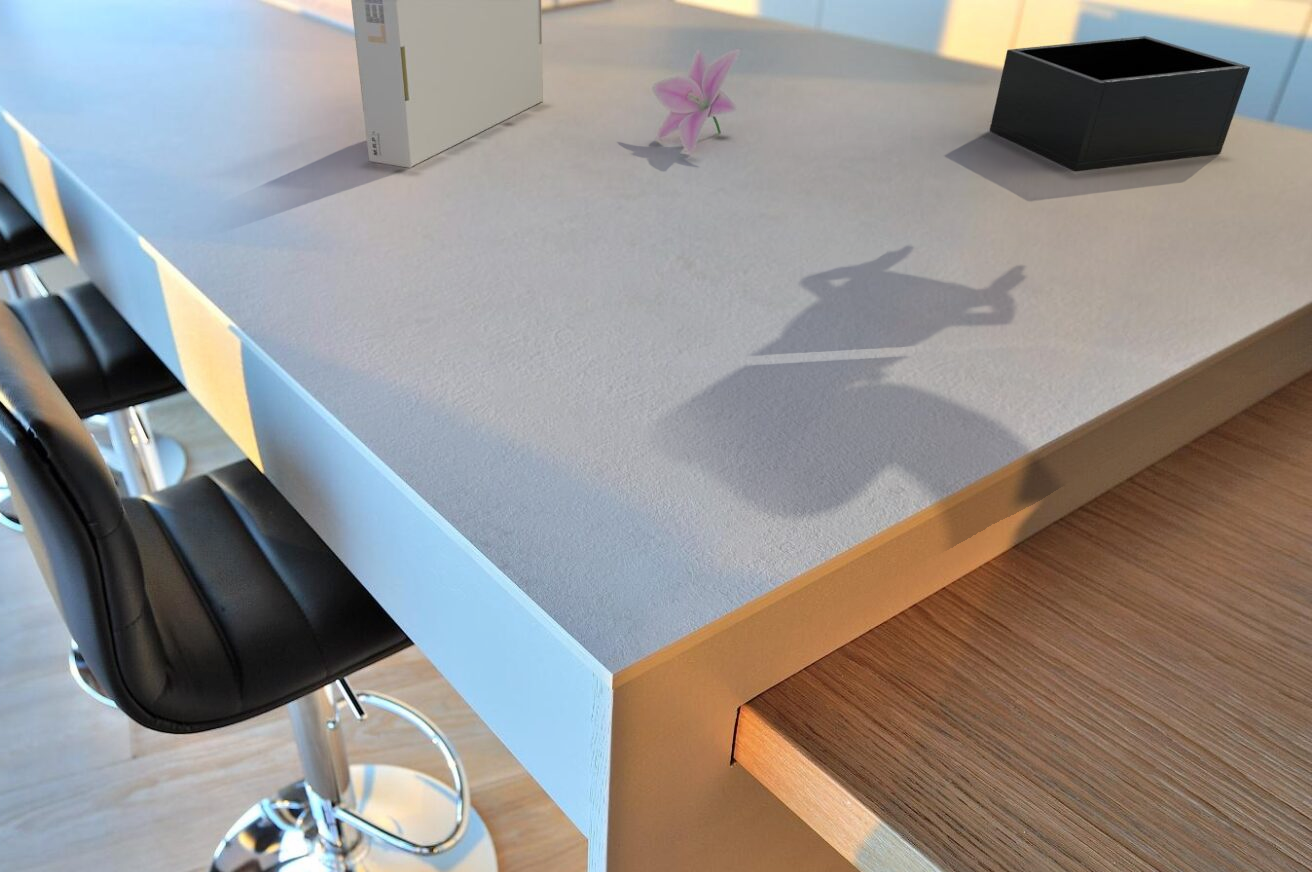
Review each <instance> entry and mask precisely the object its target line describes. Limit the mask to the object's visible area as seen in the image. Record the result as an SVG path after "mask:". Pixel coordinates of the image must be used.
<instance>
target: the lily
mask: <svg viewBox="0 0 1312 872" xmlns="http://www.w3.org/2000/svg"><path fill="white" fill-rule="evenodd" d="M740 54H741V49H739V48H736V49H732V50H730V51H729V52H726V53H724V54H722V55H721V56H719V57H717V58H715V59H714V60H712V61H711V62H710V63H709V64H708V61H707V60H706V56H705V54H704V52H703V49H702V48H700V47H699V48H698V49H697V50H696V52H695V54H694V56H693V58H692V60H691V62H690V64H689V67H688V70H687V72H686V75H685V76H684V75H677V76H672V77H669V78H665V79H663V80H660V81H658V82H656V83H654V84H653V86H652V87H651V88H652V89H651V91H652V93H653V95H654V96H655V98H656V99H657V100H658V101H659V103H660V104H661V105H662V106H663V107H664V108H665V109H666V110H668V111H669V113H668V114H667V116H665V119H664V120H663V122H662V124H661V125H660V128H659V130H658V132H657V135H656V137H655V140H656V141H660V140H662V139H664V138H665V137H668V136H669V135H671V134H673V133H675V132H676V131H677V132H678V135H679V139H680V142H681V144H682V146H683V149H684V150H685V152H686V153H687V154H688V155H691V154H692V153H693V152H694V150H695V148H696V145H697V143H698V140H699V137H700V135H701V132H702V129H703V128H704V125H705V123H706V121H707V118H712V119H713V121H714V124H715V127H716V130H717V133H718V134H721V133H722V131H721V128H720V125H719V121H718V120H717V117H719V116H723V115H727V114H732V113H734V112H735V111H737V106H736V104H735V103H734V102H733V100H732V99H731V98H730V97H729V95H727V93H725V92H724V91H723V90H722V87H723V85H724V83H725V81H726V79H727V78H728V75H729V73H730V72H731V71H732V69H733V67H734V65H735V63H736V62H737V60H738V58H739V56H740Z"/></svg>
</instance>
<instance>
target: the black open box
mask: <svg viewBox="0 0 1312 872" xmlns="http://www.w3.org/2000/svg"><path fill="white" fill-rule="evenodd" d="M1250 69H1251V66H1249V65H1247V64H1244V63H1243V64H1242V63H1239V62H1235V61H1232V60H1229V59H1225V58H1222V57H1218V56H1215V55H1212V54H1209V53H1204V52H1201V51H1198V50H1194V49H1191V48H1188V47H1185V46H1180V45H1177V44H1173V43H1170V42H1168V41H1164V40H1160V39H1157V38H1154V37H1150V36H1146V35H1142V36H1132V37H1122V38H1111V39H1101V40H1092V41H1091V40H1090V41H1084V42H1083V41H1082V42H1081V41H1080V42H1070V43H1062V44H1051V45H1041V46H1031V47H1021V48H1020V47H1019V48H1012V49H1007V50H1006V55H1005V59H1004V63H1003V68H1002V73H1001V77H1000V83H999V86H998V91H997V95H996V100H995V103H994V104H995V106H994V109H993V114H992V117H991V123H990V127H989V131H990V132H992V133H994V134H996V135H998V136H999V137H1003V138H1004V139H1006V140H1008V141H1011V142H1013V143H1015V144H1017V145H1020V146H1021V147H1023V148H1025V149H1028V150H1030V151H1032V152H1034V153H1036V154H1038V155H1040V156H1042V157H1045V158H1047V159H1049V160H1051V161H1053V162H1055V163H1057V164H1059V165H1062V166H1064V167H1066V168H1068V169H1070V170H1072V171H1075V172H1078V171H1086V170H1095V169H1102V168H1109V167H1120V166H1121V167H1122V166H1128V165H1136V164H1143V163H1144V164H1145V163H1153V162H1160V161H1161V162H1162V161H1171V160H1177V159H1178V160H1179V159H1185V158H1194V157H1203V156H1210V155H1211V156H1212V155H1221V153H1222V150H1223V147H1224V144H1225V141H1226V138H1227V136H1228V134H1229V130H1230V127H1231V125H1232V121H1233V119H1234V116H1235V113H1236V110H1237V107H1238V104H1239V101H1240V99H1241V95H1242V92H1243V90H1244V87H1245V83H1246V81H1247V77H1248V74H1249V72H1250Z"/></svg>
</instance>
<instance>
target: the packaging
mask: <svg viewBox="0 0 1312 872" xmlns="http://www.w3.org/2000/svg"><path fill="white" fill-rule="evenodd" d="M350 2H351V11H352V20H353V28H354V36H355V37H354V38H355V45H356V46H355V47H356V54H357V63H358V65H357V66H358V73H359V82H360V83H359V84H360V91H361V92H360V93H361V101H362V111H363V118H364V127H365V137H366V146H367V154H368V162H371V163H377V164H383V165H390V166H397V167H403V168H407V169H408V168H409V169H411V168H413V167H414V166H416V165H418V164H421V162H424V161H426V160H427V159H429V158H432V157H434V156H436V155H438V154H440V153H442V152H444V151H446V150H448V149H450V148H452V147H454V146H456V145H459V143H462V142H464V141H466V140H468V139H470V138H472V137H473V136H476V135H477V134H480V133H481V132H484V131H486V130H488V129H490V128H492V127H494V126H496V125H498V124H500V123H501V122H504V121H506V120H508V119H510V118H511V117H514V116H517V115H518V114H520V113H522V112H524V111H525V110H528V109H530V108H532V107H534V106H536V105H538V104H540V103H542V102H544V71H543V70H544V69H543V67H544V65H543V63H544V62H543V61H544V60H543V21H542V20H543V18H542V14H543V13H542V11H543V10H542V0H350Z"/></svg>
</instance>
